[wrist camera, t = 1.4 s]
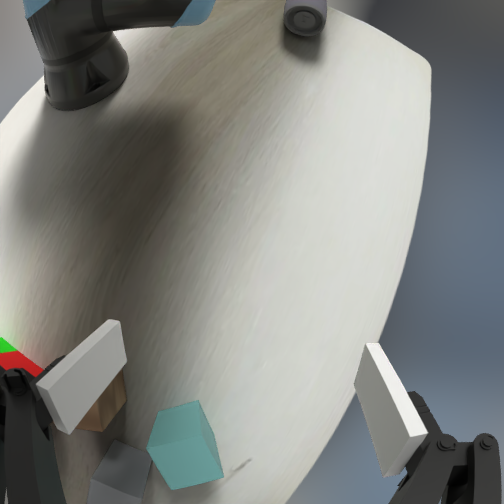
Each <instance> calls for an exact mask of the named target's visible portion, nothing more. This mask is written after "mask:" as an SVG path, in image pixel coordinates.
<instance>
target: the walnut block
mask: <svg viewBox="0 0 504 504" xmlns="http://www.w3.org/2000/svg"><path fill="white" fill-rule="evenodd" d="M126 401H127V397H126V391H125V384H124V377H123V370H122V369H121V370H120V371H119V372H118V374H117V375H116V376H115V377H114V379H113V380H112V381H111V382H110V384H109V385H108V386H107V387H106V389H105V390H104V391H103V392H102V394H101V395H100V396H99V397H98V399H97V400H96V401H95V403H94V404H93V405H92V406H91V408H90V409H89V410H88V412H87V413H86V414H85V416H84V417H83V418H82V419H81V421H80V422H79V423H78V425H77V426H76V427H75V428H76V429H83V430H90V431H99V432H103V431H104V430H105V428H106V427H107V426H108V424H109V423H110V422H111V420H112V419H113V418H114V416H115V415H116V414H117V412H118V411H119V410H120V409H121V407H122V406H123V405H124V403H125V402H126ZM53 423H54V422H53ZM54 425H55V424H54Z"/></svg>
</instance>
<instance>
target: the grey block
mask: <svg viewBox="0 0 504 504" xmlns="http://www.w3.org/2000/svg"><path fill="white" fill-rule="evenodd" d="M151 461H152V458H151V456H150V454H149V453H146V452H144V451H141V450H139V449H136V448H134V447H131V446H129V445H127V444H124V443H122V442H120V441H117V440H115V439H114V441H113V443H112V444H111V446H110V448H109V449H108V451H107V453H106V454H105V456H104V458H103V459H102V461H101V463H100V464H99V466H98V468H97V469H96V471H95V473H94V474H93V476H92V478H91V481H90V487H89V492H88V498H87V503H86V504H141V502H142V499H143V494H144V490H145V486H146V481H147V477H148V473H149V469H150V465H151Z"/></svg>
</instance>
